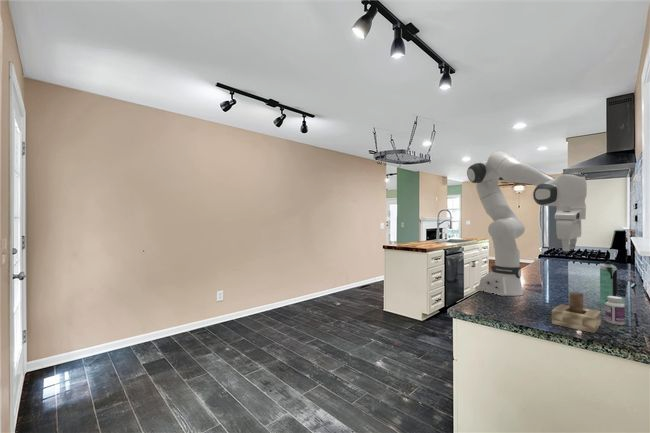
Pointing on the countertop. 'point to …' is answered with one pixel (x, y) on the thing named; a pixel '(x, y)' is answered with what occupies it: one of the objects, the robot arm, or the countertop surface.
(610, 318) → the pill bottle
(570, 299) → the peg
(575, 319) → the socket block
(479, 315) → the countertop surface
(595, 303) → the countertop surface
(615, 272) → the spray can
